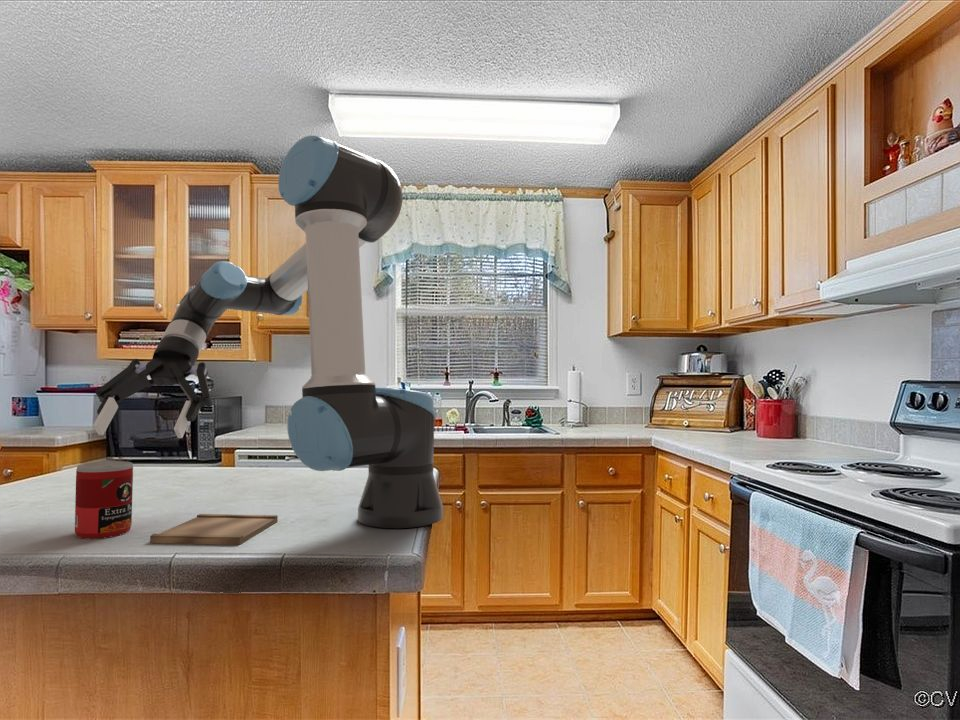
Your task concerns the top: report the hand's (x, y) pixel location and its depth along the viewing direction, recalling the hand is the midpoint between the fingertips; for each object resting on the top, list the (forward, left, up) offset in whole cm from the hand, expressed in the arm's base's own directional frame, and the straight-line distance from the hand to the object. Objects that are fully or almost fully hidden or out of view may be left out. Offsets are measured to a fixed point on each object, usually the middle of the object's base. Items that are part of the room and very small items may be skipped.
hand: (138, 432), depth 102 cm
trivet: (-18, +6, -15) cm, 25 cm away
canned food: (0, +8, -16) cm, 18 cm away
